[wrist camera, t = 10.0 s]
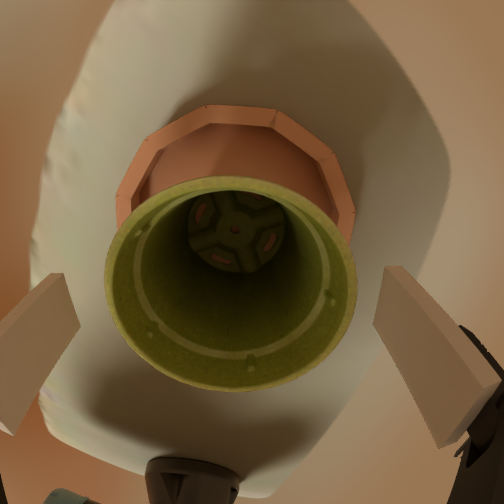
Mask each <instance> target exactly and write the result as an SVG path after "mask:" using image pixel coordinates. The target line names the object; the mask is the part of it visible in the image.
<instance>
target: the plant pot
mask: <svg viewBox="0 0 504 504" xmlns="http://www.w3.org/2000/svg"><path fill="white" fill-rule="evenodd" d="M240 191H246V192H252V193H256V194H260V196H261V200H258V199H256V198H254V197H252V196H250V195H247V194H244V193H241V192H240ZM203 203H204V204H206V205H207V207H206V208H205V210H204V212H203V213H202V216H201V219H200V220H199V223H198V224H197V222H196V213H197V210H198V209H199V207H200V205H202V204H203ZM233 226H237V227H238V228H239V229H240V231H239V233H237V234H235V233H233V232H232V231H231V227H233ZM272 233H275V235H276V240H275V242H274V244H273V245H272V247H271V248H270V249H269V250H268V251H266V252H264V251H263V249H264V247H265V246H266V244H267V243H268V241H269V239H270V236H271V234H272ZM212 254H216V255H217V256H220V257H221V258H224V259H226V260H231V263H230V264H225V263H222V262H218V261H216V260H214V259H213V258H212V257H211V255H212ZM104 288H105V294H106V299H107V303H108V307H109V310H110V313H111V316H112V319H113V321H114V323H115V325H116V327H117V328H118V330H119V332H120V333H121V335H122V336H123V338H124V339H125V341H126V342H127V343H128V345H129V346H130V347H131V348H132V349H133V350H134V351H135V352H136V353H137V354H138V355H139V356H140V357H141V358H142V359H144V360H145V361H147V362H148V363H149V364H150V365H152V366H153V367H154V368H155V369H157V370H159V371H160V372H162V373H163V374H165V375H167V376H169V377H171V378H173V379H175V380H177V381H180V382H182V383H186V384H189V385H192V386H194V387H198V388H202V389H206V390H217V391H222V392H248V391H256V390H264V389H268V388H272V387H275V386H278V385H281V384H285V383H287V382H289V381H292V380H294V379H296V378H298V377H300V376H302V375H304V374H305V373H307V372H308V371H310V370H311V369H313V368H314V367H316V366H317V365H318V364H319V363H321V362H322V361H323V360H324V359H325V358H326V357H327V356H328V355H329V354H330V353H331V352H332V351H333V350H334V348H335V347H336V346H337V345H338V343H339V342H340V340H341V339H342V338H343V336H344V334H345V333H346V331H347V329H348V327H349V325H350V322H351V320H352V317H353V314H354V309H355V305H356V300H357V274H356V266H355V262H354V259H353V256H352V253H351V250H350V248H349V246H348V243H347V241H346V239H345V238H344V236H343V234H342V233H341V232H340V230H339V229H338V227H337V226H336V225H335V223H334V222H333V221H332V220H331V219H330V218H329V217H328V216H327V215H326V214H325V213H324V212H323V211H322V210H321V209H320V208H319V207H318V206H317V205H315V204H314V203H313V202H311V201H310V200H308V199H307V198H305V197H304V196H302V195H301V194H299V193H297V192H295V191H293V190H291V189H289V188H287V187H285V186H282V185H280V184H277V183H274V182H271V181H267V180H264V179H259V178H254V177H249V176H239V175H214V176H206V177H200V178H195V179H191V180H187V181H183V182H181V183H178V184H175V185H173V186H170V187H168V188H166V189H164V190H162V191H160V192H158V193H156V194H155V195H153V196H151V197H150V198H148V199H147V200H146V201H144V202H143V203H142V204H140V205H139V206H138V207H137V208H136V209H135V210H134V211H133V212H132V213H131V214H130V215H129V216H128V217H127V218H126V220H125V221H124V222H123V223H122V225H121V226H120V228H119V230H118V231H117V233H116V235H115V237H114V239H113V241H112V243H111V245H110V248H109V251H108V254H107V258H106V263H105V273H104Z"/></svg>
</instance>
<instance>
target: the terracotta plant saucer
mask: <svg viewBox="0 0 504 504" xmlns="http://www.w3.org/2000/svg"><path fill="white" fill-rule="evenodd" d="M276 110H277V109H269V108H258V107H246V106H230V105H207V106H205V105H204V106H202V107H200V108H198V109H196V110H194V111H192V112H190V113H188V114H186V115H185V116H183V117H181V118H179V119H177V120H175V121H174V122H172V123H170V124H168V125H167V126H165V127H163V128H161V129H160V130H158V131H156V132H155V133H153V134H151V135H150V136H148V137H146V138H147V139H144V141H143V143H142V145H141V146H140V148H139V150H138V152H137V154H136V155H135V157H134V159H133V161H132V163H131V165H130V167H129V168H128V170H127V172H126V174H125V176H124V178H123V180H122V182H121V184H120V186H119V188H118V190H117V192H116V194H118V195H116V214H117V228H118V230H119V228H120V226H121V225H122V223H123V222H124V221H125V220H126V218H127V217H128V216H129V215H130V214H131V213H132V212H133V211H134V210H135V209H136V208H137V207H138V206H139V205H140V204H142V203H143V202H144V201H146V200H147V199H148V198H150V197H151V196H153V195H155V194H156V193H158V192H160V191H162V190H164V189H166V188H168V187H170V186H173V185H175V184H178V183H181V182H183V181H187V180H191V179H195V178H200V177H206V176H214V175H239V176H249V177H254V178H259V179H264V180H267V181H271V182H274V183H277V184H280V185H282V186H285V187H287V188H289V189H291V190H293V191H295V192H297V193H299V194H301V195H302V196H304V197H305V198H307V199H308V200H310V201H311V202H313V203H314V204H315V205H317V206H318V207H319V208H320V209H321V210H322V211H323V212H324V213H325V214H326V215H327V216H328V217H329V218H330V219H331V220H332V221H333V222H334V223H335V225H336V226H337V227H338V229H339V230H340V232H341V233H342V234H343V236H344V238H345V239H346V241H347V243H348V246H349V244H350V240H351V235H352V230H353V225H354V220H355V215H356V213H355V211H356V210H355V207H354V204H353V201H352V199H351V196H350V193H349V190H348V187H347V184H346V182H345V179H344V176H343V173H342V171H341V168H340V166H339V163H338V160H337V158H336V155H335V153H333V150H331V149H330V148H329V147H328V146H326V145H325V144H324V143H323V142H321V141H320V140H319V139H317V138H316V137H315V136H314V135H312V134H311V133H310V132H308V131H307V130H306V129H304V128H303V127H302V126H300V125H299V124H298V123H296V122H295V121H294V120H292V119H291V118H289V117H288V116H287V115H285V114H284V113H282V112H281V111H277V112H276ZM240 192H241V193H244V194H247V195H250V196H252V197H254V198H256V199H258V200H261V196H260V194H256V193H252V192H246V191H240ZM206 207H207V205H206V204H204V203H203V204H202V205H200V207H199V209H198V210H197V213H196V222H197V224H198V223H199V220H200V219H201V216H202V213H203V212H204V210H205V208H206ZM231 231H232V232H233V233H235V234H237V233H239V231H240V229H239V228H238V227H237V226H233V227H231ZM275 240H276V235H275V233H272V234H271V236H270V239H269V241H268V243H267V244H266V246H265V247H264V249H263V251H264V252H266V251H268V250H269V249H270V248H271V247H272V245H273V244H274V242H275ZM211 257H212V258H213V259H214V260H216V261H218V262H222V263H225V264H230V263H231V260H226V259H224V258H221V257H220V256H217V255H216V254H212V255H211Z"/></svg>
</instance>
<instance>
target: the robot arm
mask: <svg viewBox="0 0 504 504" xmlns="http://www.w3.org/2000/svg"><path fill="white" fill-rule="evenodd" d="M373 325H374V327H375V328H376V330H377V332H378V334H379V335H380V337H381V339H382V341H383V342H384V344H385V346H386V348H387V349H388V351H389V353H390V355H391V357H392V358H393V360H394V362H395V364H396V366H397V368H398V369H399V371H400V373H401V375H402V377H403V379H404V381H405V383H406V384H407V386H408V388H409V390H410V392H411V394H412V396H413V398H414V400H415V402H416V404H417V406H418V408H419V410H420V412H421V414H422V416H423V418H424V420H425V422H426V424H427V426H428V428H429V430H430V433H431V434H432V437H433V439H434V441H435V443H436V445H437V448H438V449H440V448H443V447H445V446H447V445H450V444H452V443H455V442H457V441H458V439H460V437H461V436H462V435H463V433H464V432H465V431H466V430H467V432H468V434H469V435H470V437H469V438H468V439H467V440H466V441H465V443H464V444H463V445H462V446H461V447H460V448H459V450H457V451H456V453H455V455H454V457H457V456H458V455H459V454H460V453H461V452H462V451H463V450H464V451H463V455H462V457H461V462H460V466H459V469H458V473H457V476H456V479H455V482H454V485H453V488H452V491H451V494H450V497H449V499H448V502H447V504H504V370H503V369H502V368H501V366H500V365H499V364H498V363H497V361H496V360H495V359H494V358H493V356H492V355H491V354H490V353H489V352H487V349H486V348H485V347H484V346H483V345H482V344H481V342H480V341H479V340H478V339H477V338H476V336H475V335H474V334H473V333H472V332H470V331H469V330H467V329H466V328H465V327H463V326H461V325H459V326H458V325H457V324H456V323H455V322H454V321H453V320H452V319H451V317H450V316H449V315H448V314H447V313H446V312H445V311H444V310H443V309H442V307H441V306H440V305H439V304H438V303H437V302H436V301H435V300H434V299H433V298H432V297H431V296H430V295H429V294H428V292H426V291H425V289H424V288H423V287H422V286H421V285H420V284H419V283H418V282H417V281H416V280H415V279H414V278H413V277H412V276H411V275H410V274H409V273H408V272H407V271H406V270H405V269H404V268H403V267H402V266H385V269H384V275H383V280H382V285H381V290H380V295H379V299H378V304H377V308H376V313H375V317H374V321H373ZM80 327H81V326H80V323H79V320H78V317H77V315H76V312H75V309H74V306H73V303H72V300H71V297H70V294H69V291H68V287H67V284H66V281H65V277H64V274H63V273H50V274H49V275H48V276H47V277H46V278H45V279H44V280H42V281H41V282H40V283H39V284H38V285H37V286H36V287H35V288H34V289H33V290H32V291H31V292H30V293H29V294H28V295H27V296H26V297H24V299H22V300H21V301H20V302H19V303H18V304H17V305H16V306H15V307H14V308H13V309H12V310H11V311H10V312H9V314H7V315H6V316H5V318H3V320H2V321H1V322H0V429H1V430H3V431H5V432H6V433H8V434H10V435H12V436H14V435H15V433H16V431H17V429H18V427H19V425H20V423H21V422H22V419H23V418H24V416H25V414H26V412H27V411H28V409H29V407H30V405H31V403H32V402H33V400H34V398H35V396H36V395H37V393H38V392H39V390H40V388H41V387H42V385H43V383H44V382H45V380H46V378H47V377H48V375H49V374H50V372H51V370H52V369H53V367H54V366H55V364H56V363H57V361H58V359H59V358H60V356H61V355H62V353H63V352H64V350H65V349H66V347H67V346H68V344H69V343H70V341H71V340H72V338H73V337H74V335H75V334H76V333H77V331H78V330H79V328H80ZM145 481H146V487H147V493H148V498H149V503H150V504H233V503H234V501H235V499H236V497H237V494H238V492H239V477H238V476H237V475H236V474H235V473H234V472H232V471H230V470H228V469H226V468H223V467H220V466H217V465H214V464H210V463H205V462H200V461H195V460H188V459H178V458H161V459H155V460H152V461H150V462H148V463H147V467H146V471H145ZM0 504H8V502H7V499H6V496H5V491H4V487H3V483H2V479H1V474H0ZM43 504H100V503H98V502H95V501H93V500H90V499H89V498H88V497H83V496H81V495H78V494H76V493H74V492H71V491H69V490H67V489H64V488H57V489H55V490H53V491H52V492H51V493H50V494H49V495H48V497H47V498H46V500H45V501H44V502H43Z"/></svg>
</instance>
